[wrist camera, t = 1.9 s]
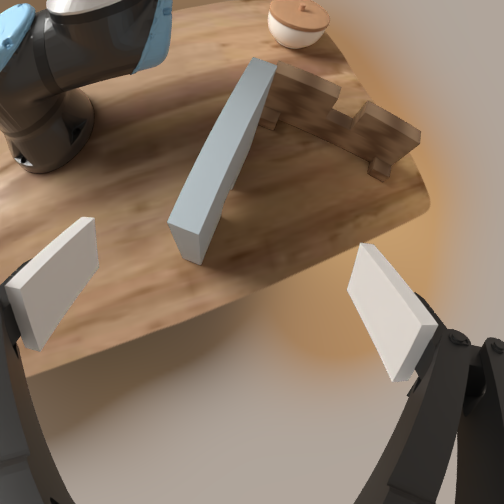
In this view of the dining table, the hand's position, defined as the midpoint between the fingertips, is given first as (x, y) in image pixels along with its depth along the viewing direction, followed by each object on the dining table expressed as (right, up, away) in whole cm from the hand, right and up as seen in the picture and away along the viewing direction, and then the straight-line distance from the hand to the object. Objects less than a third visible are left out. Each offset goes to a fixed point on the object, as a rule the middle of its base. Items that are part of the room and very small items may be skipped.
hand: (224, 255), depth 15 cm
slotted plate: (-3, +7, +27) cm, 28 cm away
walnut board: (+13, +18, +31) cm, 39 cm away
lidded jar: (+9, +40, +35) cm, 54 cm away
